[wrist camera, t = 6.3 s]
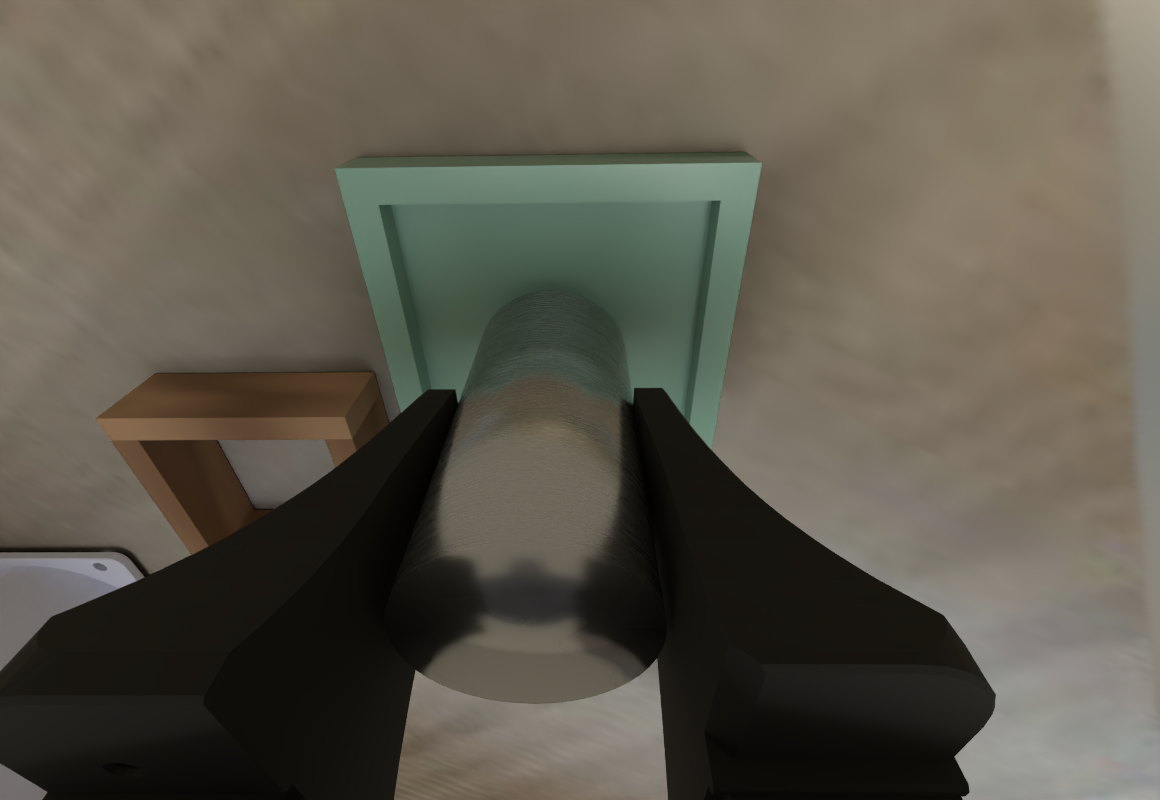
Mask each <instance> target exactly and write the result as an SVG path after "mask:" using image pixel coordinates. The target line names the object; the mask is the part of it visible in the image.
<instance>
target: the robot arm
mask: <svg viewBox="0 0 1160 800" xmlns="http://www.w3.org/2000/svg"><path fill="white" fill-rule="evenodd" d="M457 406H458V400H457V395H456V389H428V390H427V391H425V392H424V393H423V394H422V395H421V396H419V397H418V398H417V399H416V400H415V401H414V402H413V403H412V404H410V405H409V406H408V407H407V408H406V409H405V410H404V411H403V412H402V413H400V414H399V415H398V416H397V417H396V418H395V419H394V420H393V421H391V422H390V423H389V424H388V425H387V426H386V427H385V428H383V429H382V430H381V431H380V432H379V433H378V434H377V435H375V436H374V437H373V438H372V439H371V440H370V441H368V442H367V443H366V444H365V445H364V446H362V447H361V448H360V449H358V450H357V451H356V452H355V453H353V454H352V455H351V456H350V457H348V458H347V459H346V460H345V461H343V462H342V463H341V464H340V465H338V466H337V467H336V468H334V469H333V470H332V471H331V472H329V473H328V474H327V475H325V476H324V477H322V478H321V479H320V480H318V481H317V482H315V483H314V484H313V485H311V486H310V487H308V488H307V489H305V490H304V491H302V492H301V493H299V494H298V495H296V496H295V497H293V498H292V499H290V500H288V501H287V502H285V503H284V504H282V505H281V506H279V507H277V508H276V509H274V510H273V511H271V512H269V513H267V514H266V515H264V516H262V517H260V518H259V519H257V520H255V521H253V522H252V523H250V524H248V525H246V526H245V527H243V528H241V529H239V530H238V531H236V532H234V533H232V534H231V535H229V536H227V537H225V538H224V539H222V540H220V541H218V542H216V543H214V544H212V545H210V546H208V547H206V548H204V549H202V550H200V551H198V552H197V553H195V554H193V555H191V556H189V557H186V558H184V559H182V560H180V561H178V562H176V563H174V564H172V565H170V566H168V567H166V568H164V569H162V570H159V571H157V572H155V573H153V574H151V575H149V576H146V577H144V576H143V575H142V573H141V572H140V571H139V570H138V569H137V567H136V566H135V565H134V564H133V562H132V561H131V560H130V559H129V558H128V557H127V556H125V555H123V554H121V553H116V552H0V800H394V794H395V787H396V780H397V774H398V767H399V760H400V754H401V748H402V742H403V736H404V730H405V725H406V719H407V713H408V707H409V701H410V696H411V690H412V685H413V680H414V675H415V669H414V668H413V667H412V666H411V665H410V664H408V663H407V662H406V661H405V660H404V659H403V658H402V657H401V656H400V655H399V654H398V652H397V651H396V649H395V648H394V646H393V645H392V643H391V641H390V639H389V637H388V635H387V631H386V627H385V610H386V606H387V602H388V599H389V596H390V594H391V591H392V588H393V585H394V582H395V580H396V577H397V574H398V571H399V568H400V566H401V563H402V560H403V557H404V554H405V552H406V549H407V546H408V543H409V540H410V538H411V535H412V532H413V529H414V526H415V523H416V521H417V518H418V515H419V512H420V509H421V507H422V504H423V501H424V498H425V495H426V493H427V490H428V487H429V484H430V481H431V479H432V476H433V473H434V470H435V467H436V465H437V462H438V459H439V456H440V453H441V451H442V448H443V445H444V442H445V439H446V436H447V434H448V431H449V428H450V425H451V422H452V420H453V417H454V414H455V411H456V408H457ZM633 408H634V415H635V422H636V429H637V435H638V440H639V446H640V451H641V456H642V463H643V470H644V476H645V483H646V490H647V496H648V503H649V510H650V516H651V523H652V530H653V536H654V543H655V550H656V557H657V563H658V570H659V577H660V583H661V590H662V597H663V603H664V610H665V617H666V624H667V633H666V640H665V643H664V646H663V649H662V650H661V652H660V654H659V655H658V657H657V660H658V672H659V683H660V695H661V708H662V721H663V734H664V747H665V760H666V774H667V789H668V800H963V799H962V797H961V796H966V795H967V794H968V793H969V785H968V783H967V781H966V779H965V777H964V775H963V773H962V771H961V769H960V767H959V765H958V763H957V761H956V760H955V758H954V756H955V755H956V754H957V753H958V752H959V751H960V750H961V749H962V748H963V747H964V746H965V745H966V744H967V743H968V742H969V741H970V740H971V739H972V738H973V737H974V736H975V735H976V734H977V733H978V732H979V731H980V730H981V729H982V728H983V727H984V726H985V724H986V723H987V721H988V720H989V718H990V717H991V715H992V714H993V711H994V708H995V697H996V694H995V693H994V691H993V690H992V688H991V686H990V685H989V683H988V682H987V680H986V679H985V677H984V675H983V674H982V672H981V670H980V669H979V667H978V665H977V664H976V662H975V660H974V659H973V657H972V655H971V654H970V652H969V651H968V649H967V647H966V646H965V644H964V643H963V641H962V640H961V639H960V637H959V636H958V635H957V633H956V632H955V630H954V629H953V628H952V626H951V625H950V623H949V622H948V621H947V619H946V618H945V617H944V615H942V614H940V613H938V612H937V611H935V610H933V609H931V608H929V607H927V606H925V605H924V604H922V603H920V602H918V601H916V600H914V599H913V598H911V597H909V596H907V595H905V594H903V593H902V592H900V591H898V590H896V589H894V588H892V587H891V586H889V585H887V584H885V583H883V582H881V581H879V580H878V579H876V578H874V577H873V576H871V575H869V574H868V573H866V572H864V571H863V570H861V569H859V568H858V567H856V566H855V565H853V564H851V563H850V562H848V561H847V560H845V559H843V558H842V557H840V556H839V555H837V554H835V553H834V552H832V551H831V550H829V549H828V548H826V547H825V546H823V545H822V544H820V543H819V542H817V541H816V540H814V539H813V538H812V537H810V536H809V535H808V534H806V533H805V532H803V531H802V530H801V529H799V528H798V527H797V526H795V525H794V524H792V523H791V522H790V521H788V520H787V519H786V518H784V517H783V516H782V515H780V514H779V513H778V512H777V511H775V510H774V509H773V508H772V507H770V506H769V505H768V504H767V503H766V502H764V501H763V500H762V499H761V498H760V497H759V496H758V495H756V494H755V493H754V492H753V491H752V490H751V489H749V488H748V487H747V486H746V485H745V484H744V483H743V482H742V481H741V480H740V479H739V478H738V477H737V476H736V475H735V474H734V473H733V472H732V471H731V470H730V469H729V468H728V467H727V466H726V465H725V464H724V463H723V462H722V461H721V460H720V459H719V458H718V457H717V456H716V454H715V453H714V452H713V451H712V450H711V449H710V448H709V447H708V445H707V444H706V443H705V442H704V441H703V440H702V438H701V437H700V436H699V435H698V434H697V432H696V431H695V430H694V429H693V428H692V426H691V425H690V424H689V423H688V421H687V420H686V419H685V417H684V416H683V415H682V413H681V412H680V411H679V409H678V408H677V407H676V405H675V404H674V402H673V401H672V400H671V398H670V397H669V395H668V394H667V392H666V391H665V390H664V389H663V388H634V397H633Z"/></svg>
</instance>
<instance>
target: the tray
mask: <svg viewBox="0 0 1160 800" xmlns="http://www.w3.org/2000/svg"><path fill="white" fill-rule="evenodd" d="M761 166H762V162H760V161H759V160H757V159H756V158H754V157H753V156H751V155H749V154H748V153H746V152H716V153H644V154H573V155H501V156H430V157H358V158H356V159H353V160H351V161H349V162H347V163H345V164H343V165H341V166H339V167H336V168H335V172H336V176H337V179H338V183H339V187H340V190H341V194H342V198H343V201H344V205H345V209H346V213H347V216H348V220H349V224H350V227H351V231H352V235H353V238H354V242H355V246H356V250H357V253H358V257H359V261H360V264H361V268H362V272H363V275H364V279H365V283H366V287H367V290H368V294H369V298H370V301H371V305H372V309H373V312H374V316H375V320H376V324H377V327H378V331H379V335H380V338H381V342H382V346H383V349H384V353H385V357H386V361H387V364H388V368H389V372H390V375H391V379H392V383H393V386H394V390H395V394H396V397H397V401H398V405H399V409H400V412H401V413H402V412H403V411H404V410H405V409H406V408H407V407H408V406H409V405H410V404H412V403H413V402H414V401H415V400H416V399H417V398H418V397H419V396H421V395H422V394H423V393H424V392H425V391H427V390H428V389H456V395H457V400H458V403H459V400H460V397H461V394H462V392H463V389H464V386H465V383H466V380H467V378H468V375H469V372H470V369H471V366H472V363H473V361H474V358H475V355H476V352H477V349H478V347H479V344H480V341H481V338H482V335H483V333H484V330H485V328H486V326H487V324H488V323H489V321H490V320H491V318H492V317H493V316H494V314H495V313H496V312H497V311H498V310H499V309H500V308H502V307H503V306H504V305H505V304H507V303H508V302H510V301H512V300H513V299H515V298H517V297H520V296H522V295H525V294H528V293H532V292H537V291H545V290H556V291H565V292H570V293H574V294H577V295H580V296H582V297H585V298H587V299H589V300H591V301H593V302H594V303H596V304H597V305H598V306H600V307H601V308H602V309H603V310H605V311H606V312H607V313H608V314H609V315H610V317H611V318H612V319H613V320H614V321H615V323H616V325H617V326H618V328H619V330H620V332H621V334H622V336H623V340H624V343H625V349H626V356H627V362H628V369H629V376H630V383H631V389H632V396H633V397H634V388H663V389H664V390H665V391H666V392H667V394H668V395H669V397H670V398H671V400H672V401H673V402H674V404H675V405H676V407H677V408H678V409H679V411H680V412H681V413H682V415H683V416H684V417H685V419H686V420H687V421H688V423H689V424H690V425H691V426H692V428H693V429H694V430H695V431H696V432H697V434H698V435H699V436H700V437H701V438H702V440H703V441H704V442H705V443H706V444H707V445H708V447H709V448H710V449H711V448H712V443H713V437H714V431H715V426H716V420H717V415H718V409H719V403H720V398H721V392H722V386H723V381H724V375H725V369H726V364H727V358H728V352H729V347H730V341H731V335H732V330H733V324H734V318H735V313H736V307H737V301H738V296H739V290H740V285H741V279H742V273H743V268H744V262H745V256H746V251H747V245H748V239H749V234H750V228H751V222H752V217H753V211H754V205H755V200H756V194H757V188H758V183H759V177H760V171H761Z"/></svg>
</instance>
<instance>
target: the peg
mask: <svg viewBox="0 0 1160 800" xmlns="http://www.w3.org/2000/svg"><path fill="white" fill-rule="evenodd" d="M385 627H386V631H387V635H388V637H389V639H390V641H391V643H392V645H393V646H394V648H395V649H396V651H397V652H398V654H399V655H400V656H401V657H402V658H403V659H404V660H405V661H406V662H407V663H408V664H410V665H411V666H412V667H413V668H414V669H416V670H417V671H418V672H420V673H422V674H423V675H425V676H426V677H428V678H430V679H432V680H433V681H435V682H437V683H439V684H441V685H444V686H446V687H449V688H451V689H453V690H456V691H459V692H462V693H465V694H468V695H472V696H476V697H480V698H485V699H490V700H496V701H503V702H512V703H528V704H540V703H558V702H566V701H573V700H579V699H584V698H588V697H592V696H596V695H599V694H602V693H605V692H608V691H610V690H613V689H615V688H618V687H620V686H622V685H624V684H626V683H628V682H630V681H631V680H633V679H634V678H636V677H637V676H639V675H640V674H642V673H643V672H644V671H645V670H646V669H647V668H648V667H650V666H651V664H652V663H653V662H654V661H655V660H656V659H657V657H658V655H659V654H660V652H661V650H662V649H663V646H664V643H665V640H666V633H667V624H666V617H665V610H664V603H663V597H662V590H661V583H660V577H659V570H658V563H657V557H656V550H655V543H654V536H653V530H652V523H651V516H650V510H649V503H648V496H647V490H646V483H645V476H644V470H643V463H642V456H641V451H640V446H639V440H638V435H637V429H636V422H635V415H634V408H633V396H632V389H631V383H630V376H629V369H628V362H627V356H626V349H625V343H624V340H623V336H622V334H621V332H620V330H619V328H618V326H617V325H616V323H615V321H614V320H613V319H612V318H611V317H610V315H609V314H608V313H607V312H606V311H605V310H603V309H602V308H601V307H600V306H598V305H597V304H596V303H594V302H593V301H591V300H589V299H587V298H585V297H582V296H580V295H577V294H574V293H570V292H565V291H556V290H545V291H537V292H532V293H528V294H525V295H522V296H520V297H517V298H515V299H513V300H512V301H510V302H508V303H507V304H505V305H504V306H503V307H502V308H500V309H499V310H498V311H497V312H496V313H495V314H494V316H493V317H492V318H491V320H490V321H489V323H488V324H487V326H486V328H485V330H484V333H483V335H482V338H481V341H480V344H479V347H478V349H477V352H476V355H475V358H474V361H473V363H472V366H471V369H470V372H469V375H468V378H467V380H466V383H465V386H464V389H463V392H462V394H461V397H460V400H459V403H458V406H457V408H456V411H455V414H454V417H453V420H452V422H451V425H450V428H449V431H448V434H447V436H446V439H445V442H444V445H443V448H442V451H441V453H440V456H439V459H438V462H437V465H436V467H435V470H434V473H433V476H432V479H431V481H430V484H429V487H428V490H427V493H426V495H425V498H424V501H423V504H422V507H421V509H420V512H419V515H418V518H417V521H416V523H415V526H414V529H413V532H412V535H411V538H410V540H409V543H408V546H407V549H406V552H405V554H404V557H403V560H402V563H401V566H400V568H399V571H398V574H397V577H396V580H395V582H394V585H393V588H392V591H391V594H390V596H389V599H388V602H387V606H386V610H385Z"/></svg>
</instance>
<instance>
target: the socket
mask: <svg viewBox="0 0 1160 800" xmlns="http://www.w3.org/2000/svg"><path fill="white" fill-rule="evenodd" d="M96 420H97V422H98V423H99V424H100V426H101V427H102V429H103V430H104V431H105V433H106V434H107V436H108V437H109V439H110V440H111V441H112V443H113V444H114V446H115V447H116V448H117V450H118V451H119V453H120V454H121V456H122V457H123V458H124V460H125V461H126V463H127V464H128V465H129V467H130V468H131V470H132V471H133V473H134V474H135V475H136V477H137V478H138V480H139V481H140V482H141V484H142V485H143V487H144V488H145V489H146V491H147V492H148V494H149V495H150V497H151V498H152V499H153V501H154V502H155V504H156V505H157V506H158V508H159V509H160V511H161V512H162V514H163V515H164V516H165V518H166V519H167V521H168V522H169V523H170V525H171V526H172V528H173V529H174V531H175V532H176V533H177V535H178V536H179V538H180V539H181V540H182V542H183V543H184V545H185V546H186V548H187V549H188V550H189V552H190V553H191V555H193V554H195V553H197V552H198V551H200V550H202V549H204V548H206V547H208V546H210V545H212V544H214V543H216V542H218V541H220V540H222V539H224V538H225V537H227V536H229V535H231V534H232V533H234V532H236V531H238V530H239V529H241V528H243V527H245V526H246V525H248V524H250V523H252V522H253V521H255V520H257V519H259V518H260V517H262V516H264V515H266V514H267V513H269V512H271V511H273V510H254V508H253V506H252V504H251V502H250V500H249V499H248V497H247V495H246V493H245V491H244V490H243V488H242V486H241V484H240V482H239V480H238V479H237V477H236V475H235V473H234V471H233V470H232V468H231V466H230V464H229V462H228V461H227V459H226V457H225V455H224V453H223V451H222V450H221V448H220V446H219V444H218V442H217V441H216V440H294V439H325V441H326V443H327V446H328V448H329V451H330V453H331V456H332V459H333V461H334V464H335V466H336V467H337V466H338V465H340V464H341V463H342V462H343V461H345V460H346V459H347V458H348V457H350V456H351V455H352V454H353V453H355V452H356V451H357V450H358V449H360V448H361V447H362V446H364V445H365V444H366V443H367V442H368V441H370V440H371V439H372V438H373V437H374V436H375V435H377V434H378V433H379V432H380V431H381V430H382V429H383V428H385V427H386V426H387V425H388V424H389V422H388V418H387V415H386V412H385V408H384V405H383V401H382V398H381V394H380V391H379V387H378V384H377V381H376V377H375V374H374V372H323V373H189V374H154V375H153V376H151V377H150V378H149V379H147V380H146V381H145V382H143V383H142V384H141V385H139V386H138V387H137V388H135V389H134V390H133V391H131V392H130V393H129V394H127V395H126V396H125V397H123V398H122V399H121V400H119V401H118V402H117V403H115V404H114V405H113V406H112V407H110V408H109V409H108V410H106V411H105V412H104V413H102V414H101V415H100V416H98V417H97V418H96Z"/></svg>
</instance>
